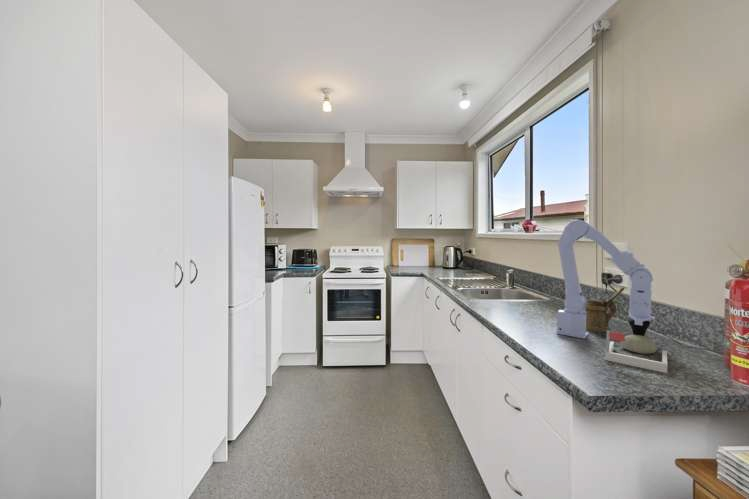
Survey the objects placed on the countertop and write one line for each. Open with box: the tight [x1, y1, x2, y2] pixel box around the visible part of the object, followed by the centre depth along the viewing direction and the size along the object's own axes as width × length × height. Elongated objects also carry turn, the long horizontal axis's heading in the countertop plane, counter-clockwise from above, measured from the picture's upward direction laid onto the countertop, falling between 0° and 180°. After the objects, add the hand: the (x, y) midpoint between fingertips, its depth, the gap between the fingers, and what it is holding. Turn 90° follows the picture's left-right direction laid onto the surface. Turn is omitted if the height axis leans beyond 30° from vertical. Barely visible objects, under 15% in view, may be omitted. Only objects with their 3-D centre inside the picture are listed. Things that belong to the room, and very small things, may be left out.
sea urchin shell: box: [620, 334, 658, 355], centre depth 106 cm, size 9×8×8 cm
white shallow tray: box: [604, 330, 668, 374], centre depth 97 cm, size 14×14×9 cm
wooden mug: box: [584, 287, 625, 333], centre depth 128 cm, size 9×14×18 cm, turn 52°
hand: (638, 341), depth 110 cm, fingers closed
